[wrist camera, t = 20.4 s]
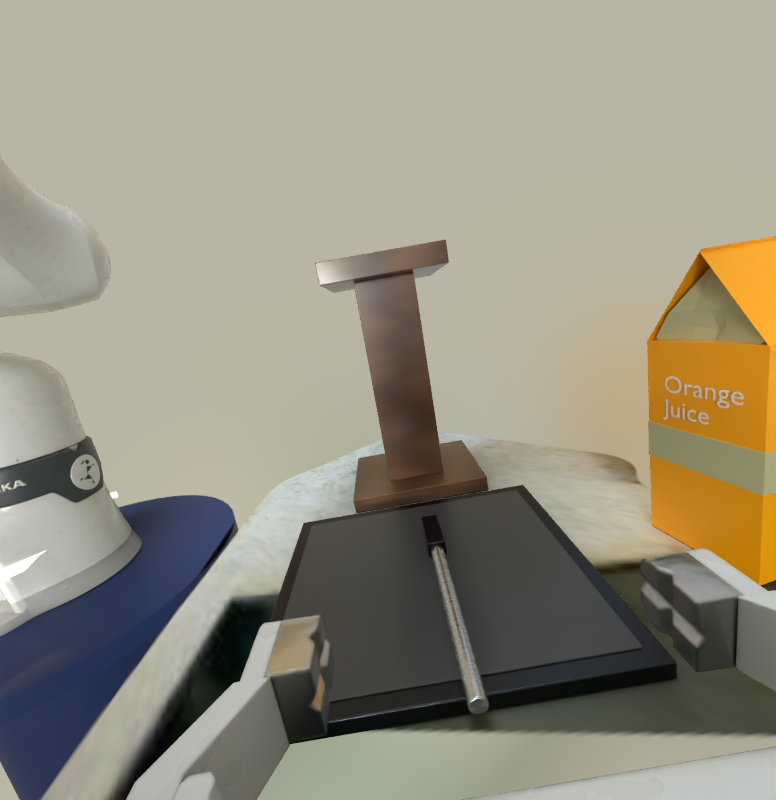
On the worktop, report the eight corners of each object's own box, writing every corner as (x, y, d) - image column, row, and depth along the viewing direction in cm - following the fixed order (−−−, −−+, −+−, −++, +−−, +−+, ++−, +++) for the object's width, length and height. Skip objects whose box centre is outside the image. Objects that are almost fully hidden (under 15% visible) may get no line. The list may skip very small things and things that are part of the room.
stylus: (465, 717, 18) (461, 697, 18) (422, 529, 33) (420, 516, 33) (495, 712, 18) (492, 691, 18) (438, 526, 33) (436, 514, 33)
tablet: (234, 754, 19) (228, 737, 19) (305, 531, 39) (303, 521, 38) (677, 679, 19) (677, 660, 19) (524, 493, 38) (522, 483, 38)
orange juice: (872, 547, 25) (911, 211, 20) (760, 588, 23) (776, 234, 19) (739, 496, 32) (746, 242, 28) (648, 523, 31) (641, 260, 26)
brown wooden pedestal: (356, 512, 40) (304, 264, 35) (360, 468, 52) (321, 277, 47) (488, 490, 40) (456, 237, 35) (463, 450, 52) (436, 256, 47)
